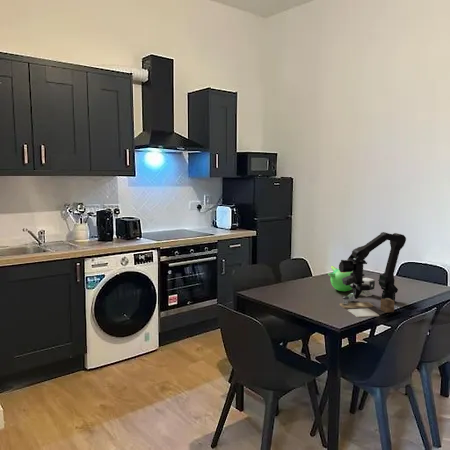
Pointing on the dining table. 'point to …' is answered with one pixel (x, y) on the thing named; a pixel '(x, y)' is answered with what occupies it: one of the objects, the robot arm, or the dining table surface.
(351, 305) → the plane block
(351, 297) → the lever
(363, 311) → the trivet
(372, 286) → the security camera
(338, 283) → the toy bird
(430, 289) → the dining table surface
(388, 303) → the cap block
